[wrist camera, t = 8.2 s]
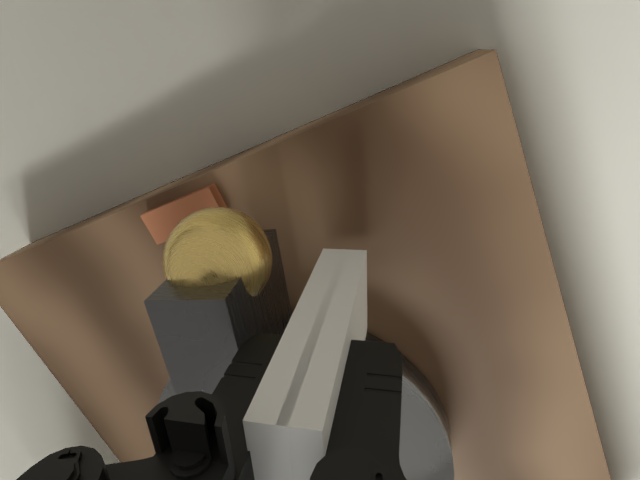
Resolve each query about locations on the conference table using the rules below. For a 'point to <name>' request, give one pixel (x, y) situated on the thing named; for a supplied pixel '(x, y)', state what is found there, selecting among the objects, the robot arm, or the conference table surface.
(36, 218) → the conference table surface
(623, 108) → the conference table surface
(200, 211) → the dial
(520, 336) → the walnut base
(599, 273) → the conference table surface
